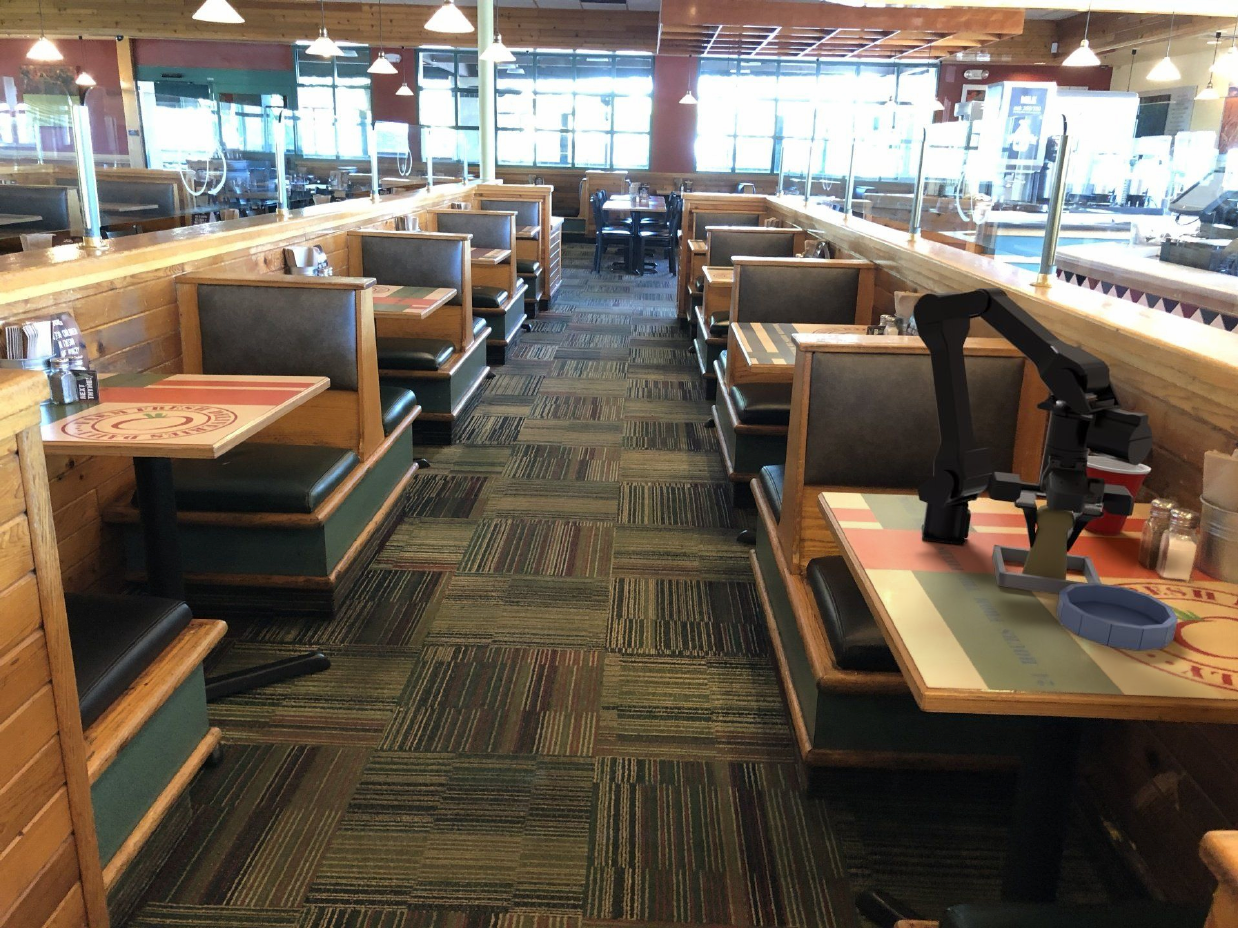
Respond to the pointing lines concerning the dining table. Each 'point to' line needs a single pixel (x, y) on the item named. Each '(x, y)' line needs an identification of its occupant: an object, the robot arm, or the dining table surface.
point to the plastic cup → (1114, 475)
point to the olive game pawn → (1049, 544)
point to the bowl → (1116, 616)
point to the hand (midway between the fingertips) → (1048, 548)
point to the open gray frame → (1037, 581)
